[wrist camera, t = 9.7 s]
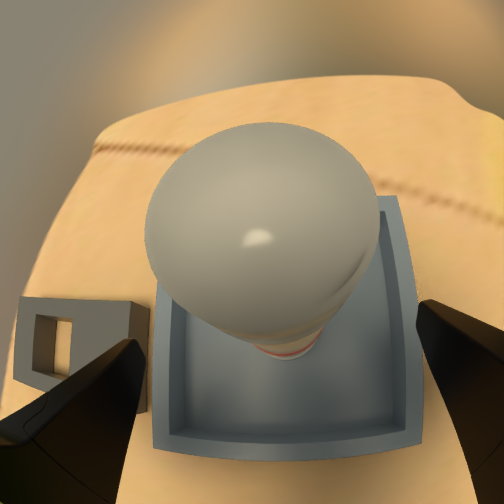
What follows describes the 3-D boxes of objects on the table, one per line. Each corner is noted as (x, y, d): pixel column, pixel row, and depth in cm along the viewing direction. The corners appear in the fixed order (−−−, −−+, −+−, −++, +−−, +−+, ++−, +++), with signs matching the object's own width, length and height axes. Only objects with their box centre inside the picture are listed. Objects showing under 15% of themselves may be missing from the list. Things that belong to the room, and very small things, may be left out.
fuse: (318, 359, 15) (398, 320, 3) (256, 361, 15) (130, 328, 4) (315, 299, 16) (353, 118, 4) (256, 302, 17) (164, 136, 5)
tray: (403, 432, 13) (421, 443, 10) (174, 437, 15) (153, 448, 12) (384, 219, 18) (396, 195, 15) (183, 232, 20) (166, 211, 17)
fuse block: (146, 411, 16) (126, 416, 14) (34, 381, 18) (13, 378, 15) (149, 309, 18) (131, 301, 16) (39, 303, 20) (19, 296, 18)
